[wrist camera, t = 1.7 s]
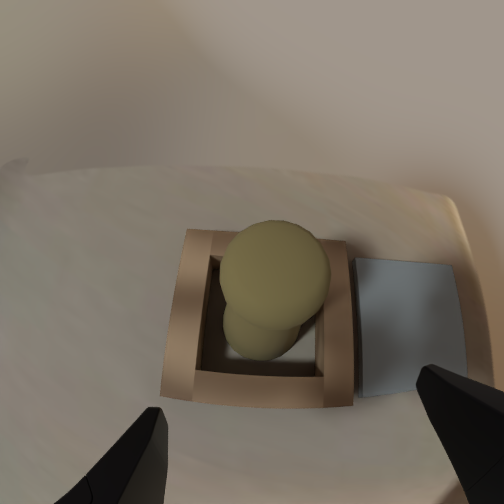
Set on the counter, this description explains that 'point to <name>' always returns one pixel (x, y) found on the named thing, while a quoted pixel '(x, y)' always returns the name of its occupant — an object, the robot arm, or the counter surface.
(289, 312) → the cork
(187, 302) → the frame
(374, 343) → the blue gray mat
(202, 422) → the counter surface
